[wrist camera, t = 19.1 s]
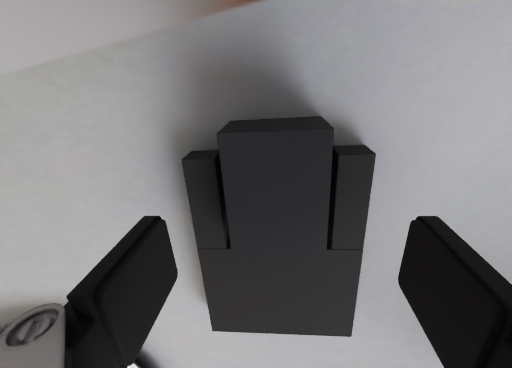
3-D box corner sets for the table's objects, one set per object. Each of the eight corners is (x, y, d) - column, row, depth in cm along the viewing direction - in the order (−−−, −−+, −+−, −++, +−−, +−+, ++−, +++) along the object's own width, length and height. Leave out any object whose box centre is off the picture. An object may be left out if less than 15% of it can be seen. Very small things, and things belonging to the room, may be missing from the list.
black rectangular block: (230, 120, 17) (216, 132, 13) (321, 116, 16) (334, 127, 12) (240, 223, 20) (231, 256, 16) (317, 222, 19) (326, 256, 15)
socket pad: (191, 150, 18) (181, 159, 16) (365, 144, 17) (376, 153, 15) (217, 311, 24) (212, 331, 22) (345, 316, 23) (351, 337, 21)
